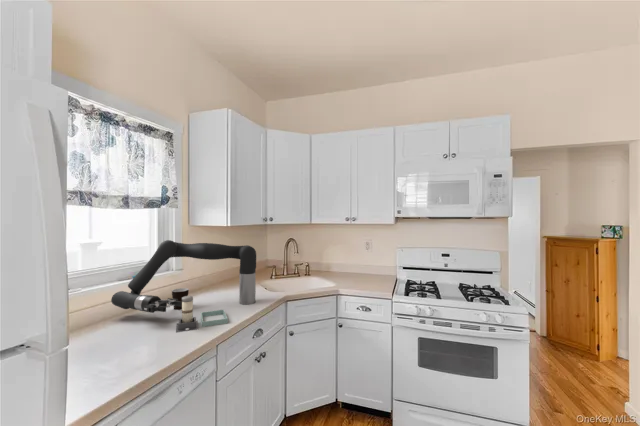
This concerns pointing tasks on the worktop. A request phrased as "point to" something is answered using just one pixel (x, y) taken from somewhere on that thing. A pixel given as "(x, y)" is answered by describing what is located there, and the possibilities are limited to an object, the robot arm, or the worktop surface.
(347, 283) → the worktop surface
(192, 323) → the fuse holder
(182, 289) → the coffee mug
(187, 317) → the cylinder
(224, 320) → the parts tray
